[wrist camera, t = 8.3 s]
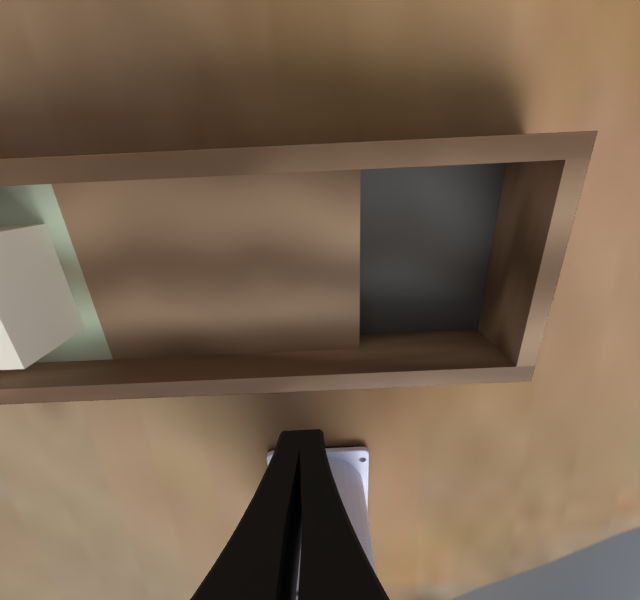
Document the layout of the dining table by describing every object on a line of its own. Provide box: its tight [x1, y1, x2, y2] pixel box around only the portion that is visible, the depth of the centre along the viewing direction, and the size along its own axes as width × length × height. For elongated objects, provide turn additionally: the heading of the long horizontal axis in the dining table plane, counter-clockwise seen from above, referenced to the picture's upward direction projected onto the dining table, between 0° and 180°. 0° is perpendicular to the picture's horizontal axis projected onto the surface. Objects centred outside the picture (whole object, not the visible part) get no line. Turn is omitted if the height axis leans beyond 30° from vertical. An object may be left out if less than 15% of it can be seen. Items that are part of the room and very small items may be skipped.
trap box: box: [0, 131, 598, 405], centre depth 17 cm, size 12×32×4 cm, turn 92°
